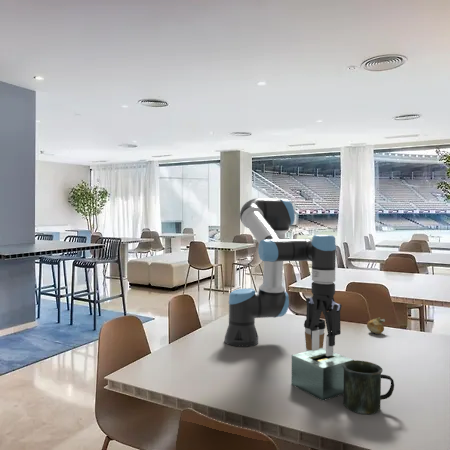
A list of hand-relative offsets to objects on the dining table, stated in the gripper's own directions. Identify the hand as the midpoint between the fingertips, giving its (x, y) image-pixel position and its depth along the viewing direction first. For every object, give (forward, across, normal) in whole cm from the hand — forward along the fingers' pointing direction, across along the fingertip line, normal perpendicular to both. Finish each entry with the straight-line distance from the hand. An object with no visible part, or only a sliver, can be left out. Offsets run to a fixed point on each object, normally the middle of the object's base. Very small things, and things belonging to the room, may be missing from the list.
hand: (322, 352), depth 132 cm
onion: (+12, -31, +70) cm, 77 cm away
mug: (+12, +17, +1) cm, 21 cm away
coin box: (+12, 0, 0) cm, 12 cm away
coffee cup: (+12, -22, +19) cm, 31 cm away
